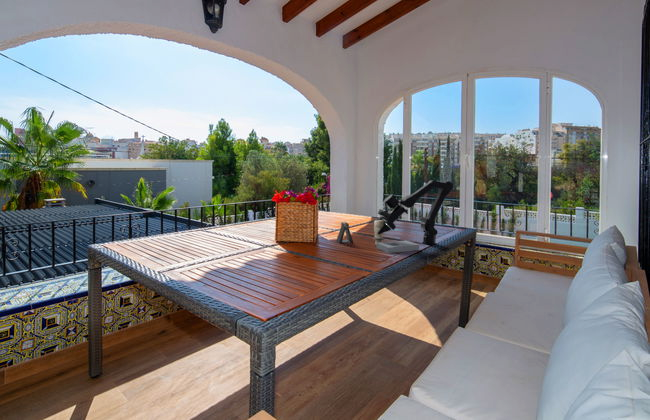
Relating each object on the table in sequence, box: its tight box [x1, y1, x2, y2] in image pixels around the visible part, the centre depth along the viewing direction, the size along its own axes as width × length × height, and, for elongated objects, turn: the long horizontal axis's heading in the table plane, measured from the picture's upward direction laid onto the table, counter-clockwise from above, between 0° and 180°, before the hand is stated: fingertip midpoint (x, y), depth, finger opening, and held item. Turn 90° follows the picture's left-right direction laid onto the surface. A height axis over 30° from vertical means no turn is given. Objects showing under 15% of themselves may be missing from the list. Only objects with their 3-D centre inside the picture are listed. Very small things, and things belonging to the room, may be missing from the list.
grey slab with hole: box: [376, 240, 420, 254], centre depth 197 cm, size 20×12×3 cm, turn 112°
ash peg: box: [373, 219, 385, 246], centre depth 207 cm, size 6×6×14 cm
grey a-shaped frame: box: [336, 221, 354, 244], centre depth 213 cm, size 9×6×12 cm, turn 104°
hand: (376, 232), depth 207 cm, fingers open, 7 cm apart
